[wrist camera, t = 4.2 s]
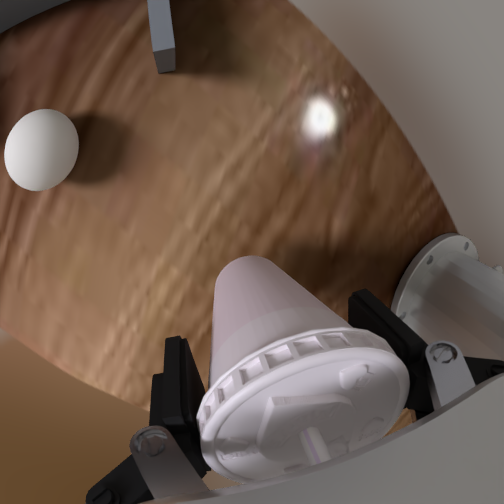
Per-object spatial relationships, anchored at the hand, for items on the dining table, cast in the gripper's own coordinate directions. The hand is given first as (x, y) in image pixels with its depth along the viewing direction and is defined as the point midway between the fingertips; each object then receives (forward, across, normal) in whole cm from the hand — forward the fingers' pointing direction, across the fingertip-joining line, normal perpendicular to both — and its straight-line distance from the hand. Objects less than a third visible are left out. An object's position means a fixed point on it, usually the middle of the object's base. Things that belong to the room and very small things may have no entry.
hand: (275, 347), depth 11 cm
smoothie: (+5, 0, 0) cm, 5 cm away
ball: (+7, +10, -10) cm, 15 cm away
